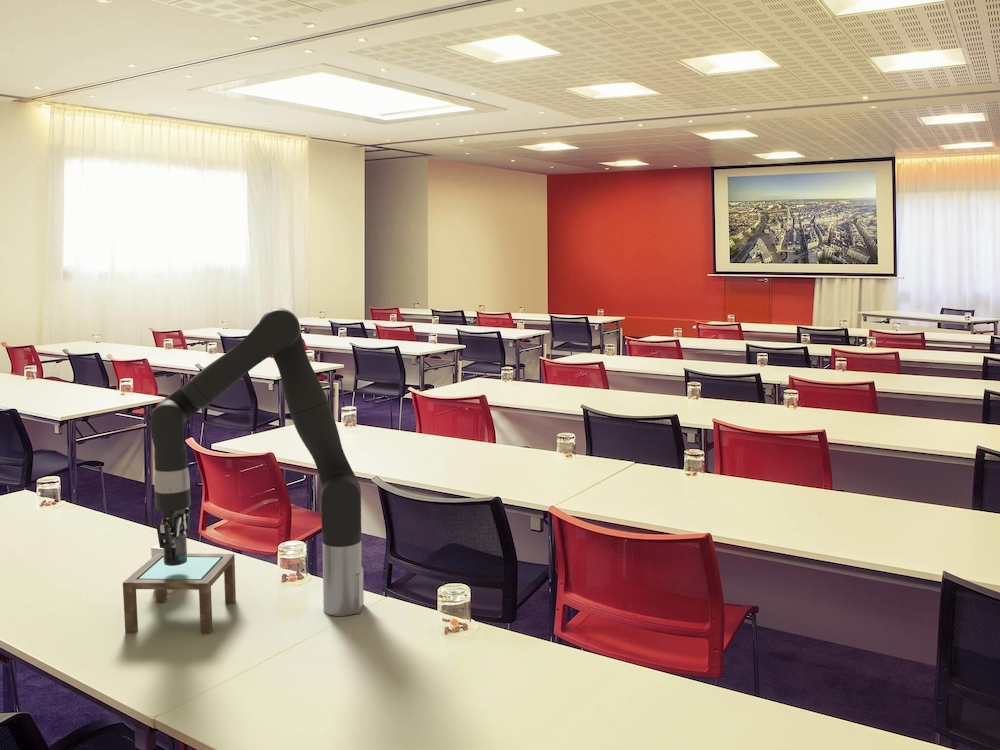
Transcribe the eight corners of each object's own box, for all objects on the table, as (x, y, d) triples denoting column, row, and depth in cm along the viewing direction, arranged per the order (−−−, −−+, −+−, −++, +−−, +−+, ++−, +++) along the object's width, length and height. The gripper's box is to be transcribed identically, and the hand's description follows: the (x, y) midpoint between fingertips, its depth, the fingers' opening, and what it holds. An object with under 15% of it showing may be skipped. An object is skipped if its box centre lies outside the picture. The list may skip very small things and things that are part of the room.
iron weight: (190, 558, 191) (189, 533, 191) (182, 565, 187) (181, 540, 186) (169, 557, 191) (167, 533, 191) (160, 565, 186) (159, 540, 186)
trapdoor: (221, 561, 200) (220, 557, 200) (200, 583, 186) (200, 579, 186) (163, 560, 200) (163, 556, 200) (138, 582, 186) (138, 578, 186)
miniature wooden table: (235, 600, 204) (234, 553, 202) (209, 634, 185) (207, 583, 183) (159, 599, 204) (157, 553, 202) (125, 633, 185) (122, 582, 183)
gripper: (176, 496, 180) (180, 570, 182) (200, 479, 194) (203, 548, 196) (142, 496, 180) (146, 570, 182) (168, 479, 194) (171, 548, 196)
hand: (175, 558), depth 189 cm, fingers closed on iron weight, 5 cm apart
